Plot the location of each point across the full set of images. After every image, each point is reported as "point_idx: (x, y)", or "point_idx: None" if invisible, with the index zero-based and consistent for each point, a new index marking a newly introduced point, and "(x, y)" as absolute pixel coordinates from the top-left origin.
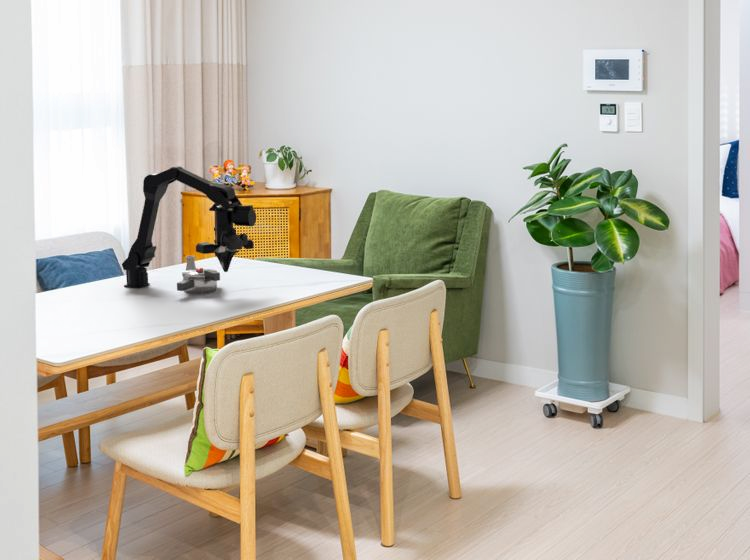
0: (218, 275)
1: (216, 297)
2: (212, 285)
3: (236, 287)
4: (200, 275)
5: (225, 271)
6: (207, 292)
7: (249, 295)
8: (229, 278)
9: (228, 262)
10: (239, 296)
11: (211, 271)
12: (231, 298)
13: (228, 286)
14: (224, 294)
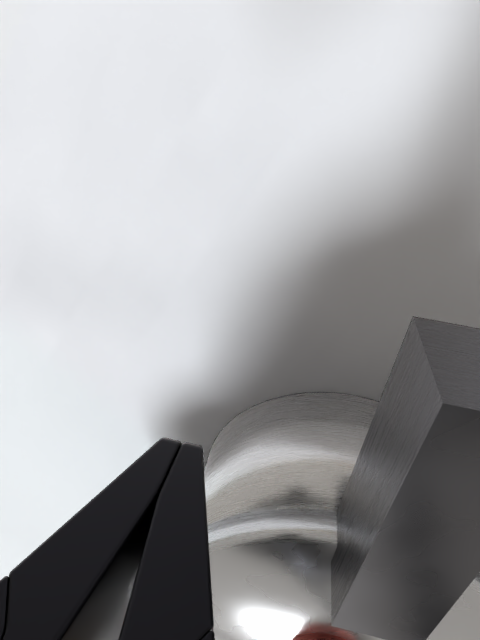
0: (464, 373)
1: (453, 216)
2: (307, 437)
3: (66, 383)
4: (470, 588)
5: (201, 449)
6: (367, 403)
7: (118, 8)
8: (6, 544)
9: (73, 587)
10: (240, 54)
11: (430, 557)
12: (389, 22)
13: (99, 439)
14: (291, 266)
